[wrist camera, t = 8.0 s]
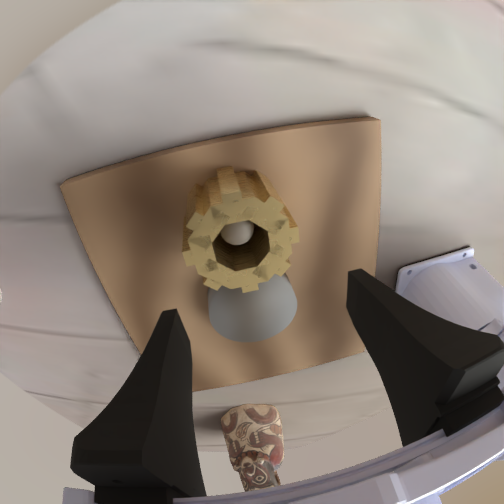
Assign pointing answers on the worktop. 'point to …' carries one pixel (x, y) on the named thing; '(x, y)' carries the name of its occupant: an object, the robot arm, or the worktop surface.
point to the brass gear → (231, 211)
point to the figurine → (254, 444)
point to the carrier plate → (317, 261)
